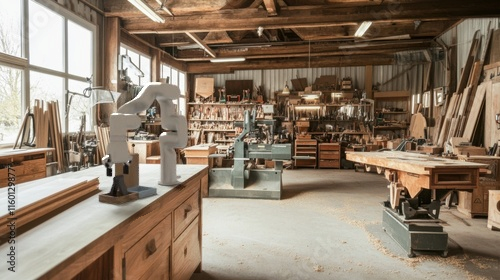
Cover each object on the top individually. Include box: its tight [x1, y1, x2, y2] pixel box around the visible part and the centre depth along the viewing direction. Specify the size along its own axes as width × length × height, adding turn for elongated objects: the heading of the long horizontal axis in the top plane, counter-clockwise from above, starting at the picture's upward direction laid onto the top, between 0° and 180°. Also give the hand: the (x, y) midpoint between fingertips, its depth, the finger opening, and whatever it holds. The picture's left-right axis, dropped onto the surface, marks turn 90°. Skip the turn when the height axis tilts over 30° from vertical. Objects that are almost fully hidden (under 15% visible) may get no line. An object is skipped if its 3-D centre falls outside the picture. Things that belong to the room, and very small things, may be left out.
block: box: [114, 152, 140, 191], centre depth 177 cm, size 10×10×20 cm
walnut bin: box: [98, 190, 139, 205], centre depth 153 cm, size 12×12×3 cm
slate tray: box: [127, 185, 158, 199], centre depth 164 cm, size 12×12×3 cm
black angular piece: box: [109, 175, 129, 197], centre depth 153 cm, size 9×6×12 cm, turn 91°
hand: (117, 175), depth 152 cm, fingers open, 9 cm apart
